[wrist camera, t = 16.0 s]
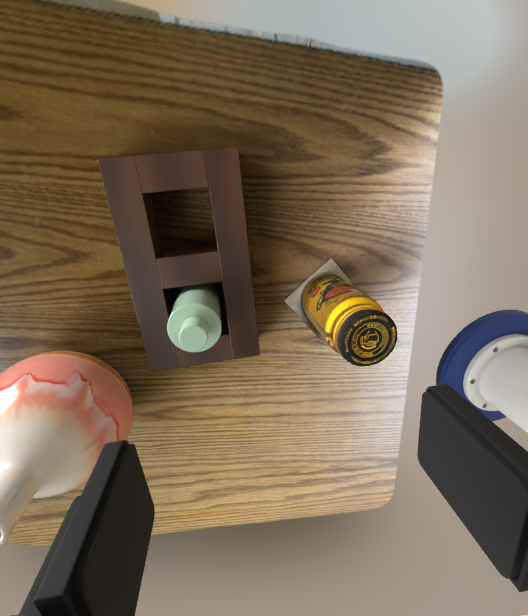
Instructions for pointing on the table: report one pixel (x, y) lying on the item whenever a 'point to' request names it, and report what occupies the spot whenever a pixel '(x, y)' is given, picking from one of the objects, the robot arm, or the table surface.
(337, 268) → the condiment
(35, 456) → the vase
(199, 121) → the table surface
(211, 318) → the bottle
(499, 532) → the robot arm
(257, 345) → the peg block
